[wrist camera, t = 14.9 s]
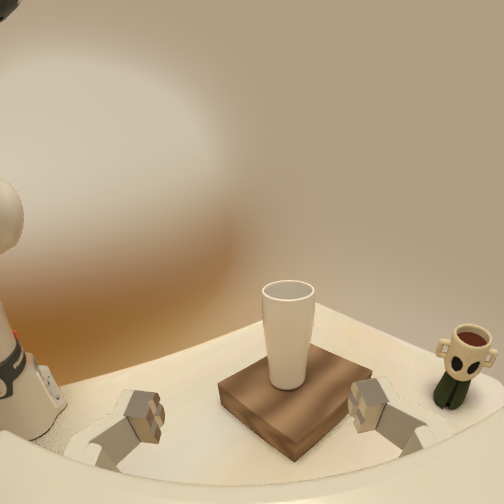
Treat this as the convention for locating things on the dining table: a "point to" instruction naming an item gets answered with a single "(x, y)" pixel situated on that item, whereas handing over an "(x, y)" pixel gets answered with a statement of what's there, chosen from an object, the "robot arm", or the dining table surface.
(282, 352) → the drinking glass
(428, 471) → the robot arm
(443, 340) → the character mug
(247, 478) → the dining table surface
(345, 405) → the walnut riser dock
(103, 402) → the dining table surface
